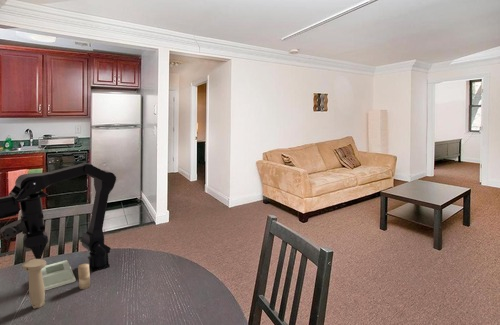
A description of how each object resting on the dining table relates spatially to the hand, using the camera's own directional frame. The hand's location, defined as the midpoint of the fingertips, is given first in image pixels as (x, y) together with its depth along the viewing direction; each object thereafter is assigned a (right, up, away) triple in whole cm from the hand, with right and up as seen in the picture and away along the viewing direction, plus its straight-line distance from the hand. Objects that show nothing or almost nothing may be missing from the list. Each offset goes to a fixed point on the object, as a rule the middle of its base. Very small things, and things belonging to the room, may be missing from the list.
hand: (37, 254), depth 99 cm
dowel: (+14, -13, +5) cm, 19 cm away
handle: (+5, -15, -6) cm, 17 cm away
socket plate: (+1, -12, +8) cm, 14 cm away
